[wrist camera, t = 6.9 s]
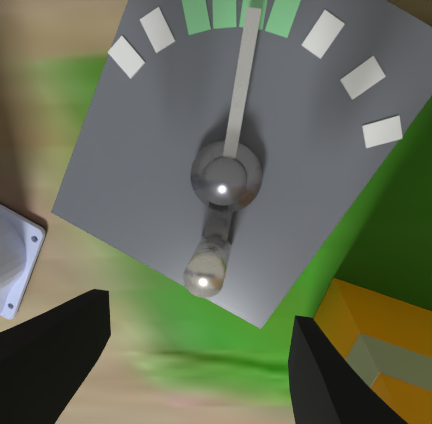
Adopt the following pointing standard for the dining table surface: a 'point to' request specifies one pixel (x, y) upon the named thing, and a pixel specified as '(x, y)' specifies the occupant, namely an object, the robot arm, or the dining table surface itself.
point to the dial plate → (244, 131)
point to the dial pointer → (225, 179)
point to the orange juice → (383, 345)
